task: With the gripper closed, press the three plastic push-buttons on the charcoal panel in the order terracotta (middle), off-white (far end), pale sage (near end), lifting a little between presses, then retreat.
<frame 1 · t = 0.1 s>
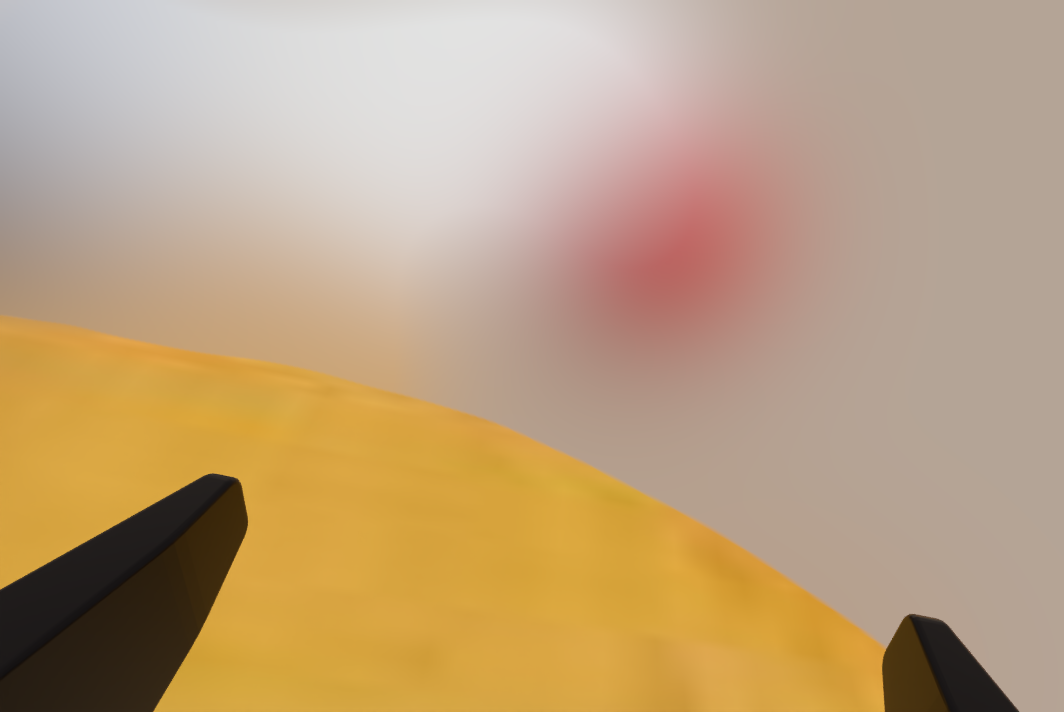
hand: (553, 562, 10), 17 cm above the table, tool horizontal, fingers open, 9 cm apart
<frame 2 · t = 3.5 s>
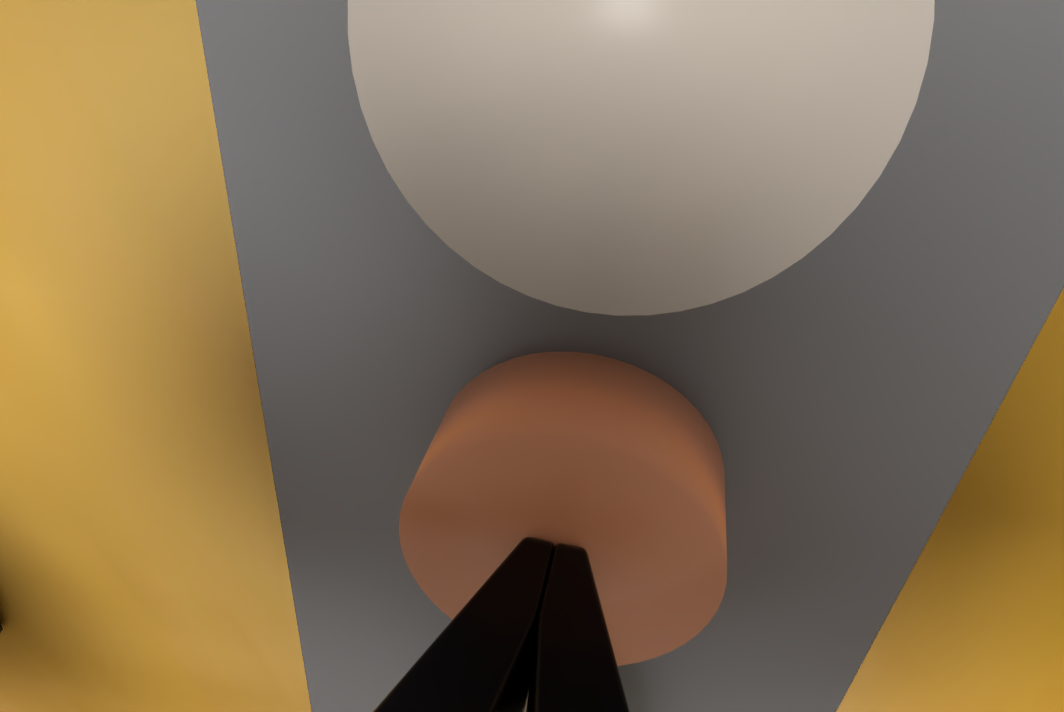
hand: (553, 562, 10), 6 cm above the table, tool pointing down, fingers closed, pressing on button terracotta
button offwhite: (629, 44, 7), point 5 cm above the table, slide at 0.0 cm
button panel: (604, 342, 15), on the table
button terracotta: (567, 514, 11), point 5 cm above the table, slide at 0.7 cm, touching gripper
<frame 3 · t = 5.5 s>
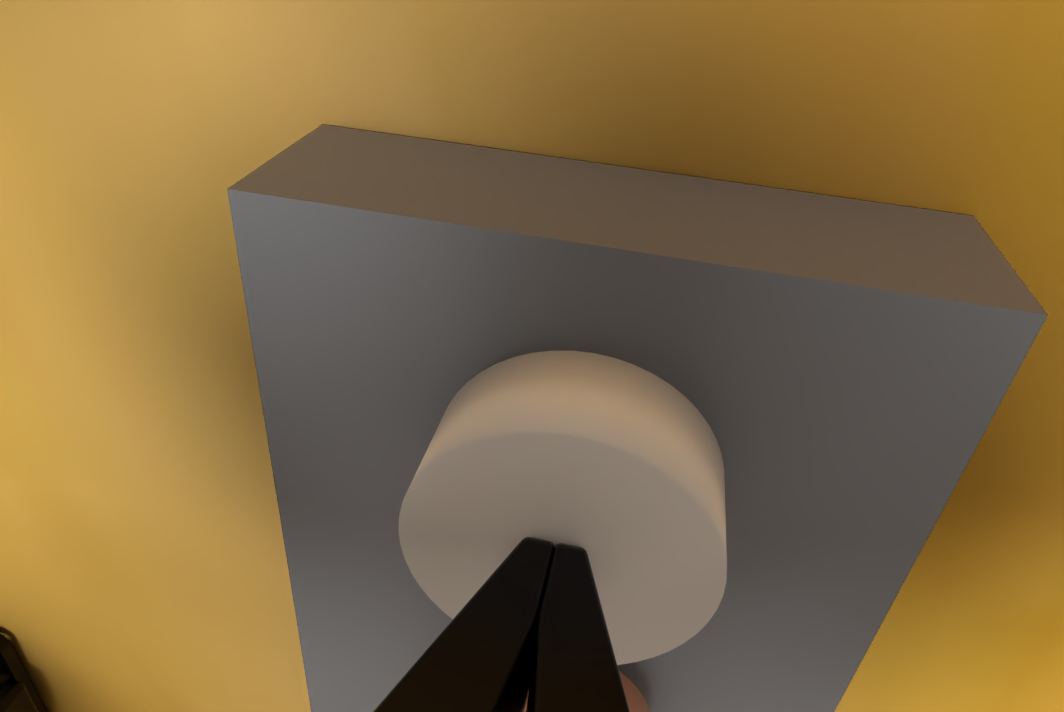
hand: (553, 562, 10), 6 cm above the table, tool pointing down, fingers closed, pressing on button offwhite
button offwhite: (566, 513, 11), point 5 cm above the table, slide at 0.7 cm, touching gripper
button panel: (569, 564, 18), on the table
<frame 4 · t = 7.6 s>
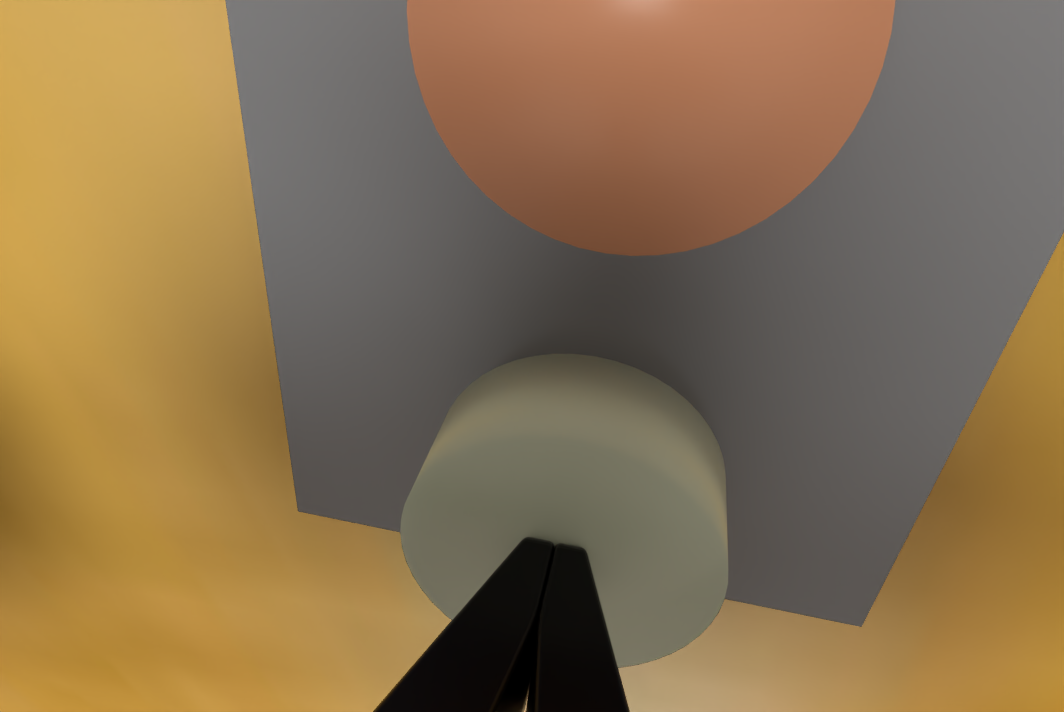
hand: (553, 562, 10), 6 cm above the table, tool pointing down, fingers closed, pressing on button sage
button terracotta: (642, 21, 8), point 5 cm above the table, slide at 0.7 cm
button sage: (568, 516, 11), point 5 cm above the table, slide at 0.1 cm, touching gripper
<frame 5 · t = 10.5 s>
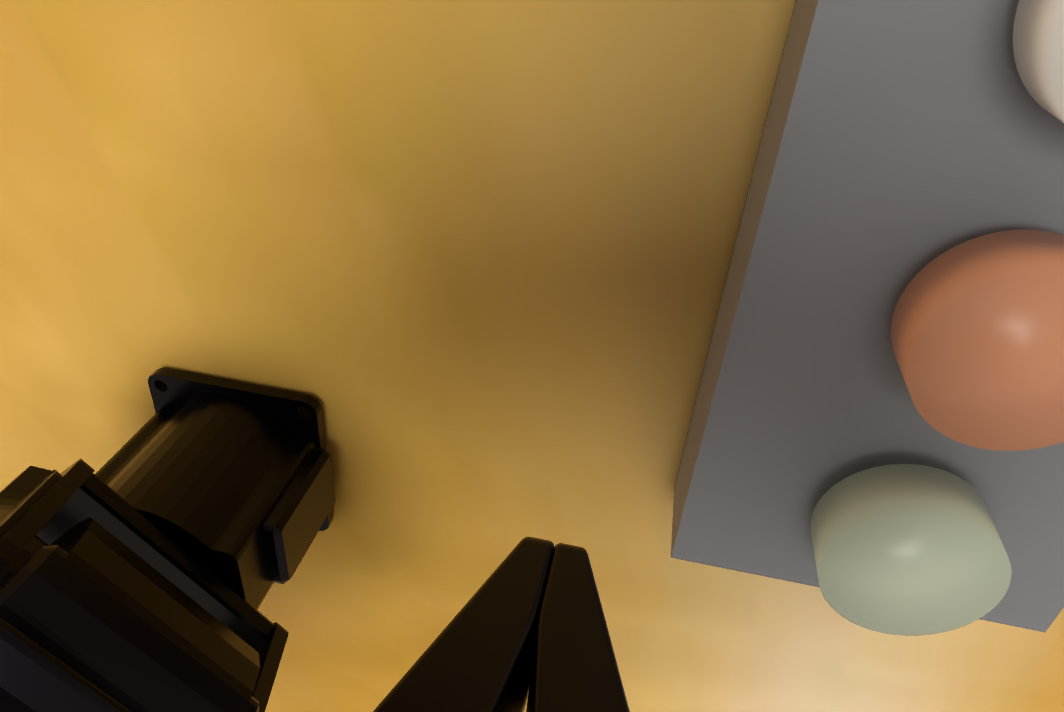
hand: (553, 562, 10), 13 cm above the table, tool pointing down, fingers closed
button panel: (952, 250, 20), on the table
button terracotta: (1012, 343, 16), point 5 cm above the table, slide at 0.7 cm
button sage: (903, 551, 20), point 5 cm above the table, slide at 0.7 cm
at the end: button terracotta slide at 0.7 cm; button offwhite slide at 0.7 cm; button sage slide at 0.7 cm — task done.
